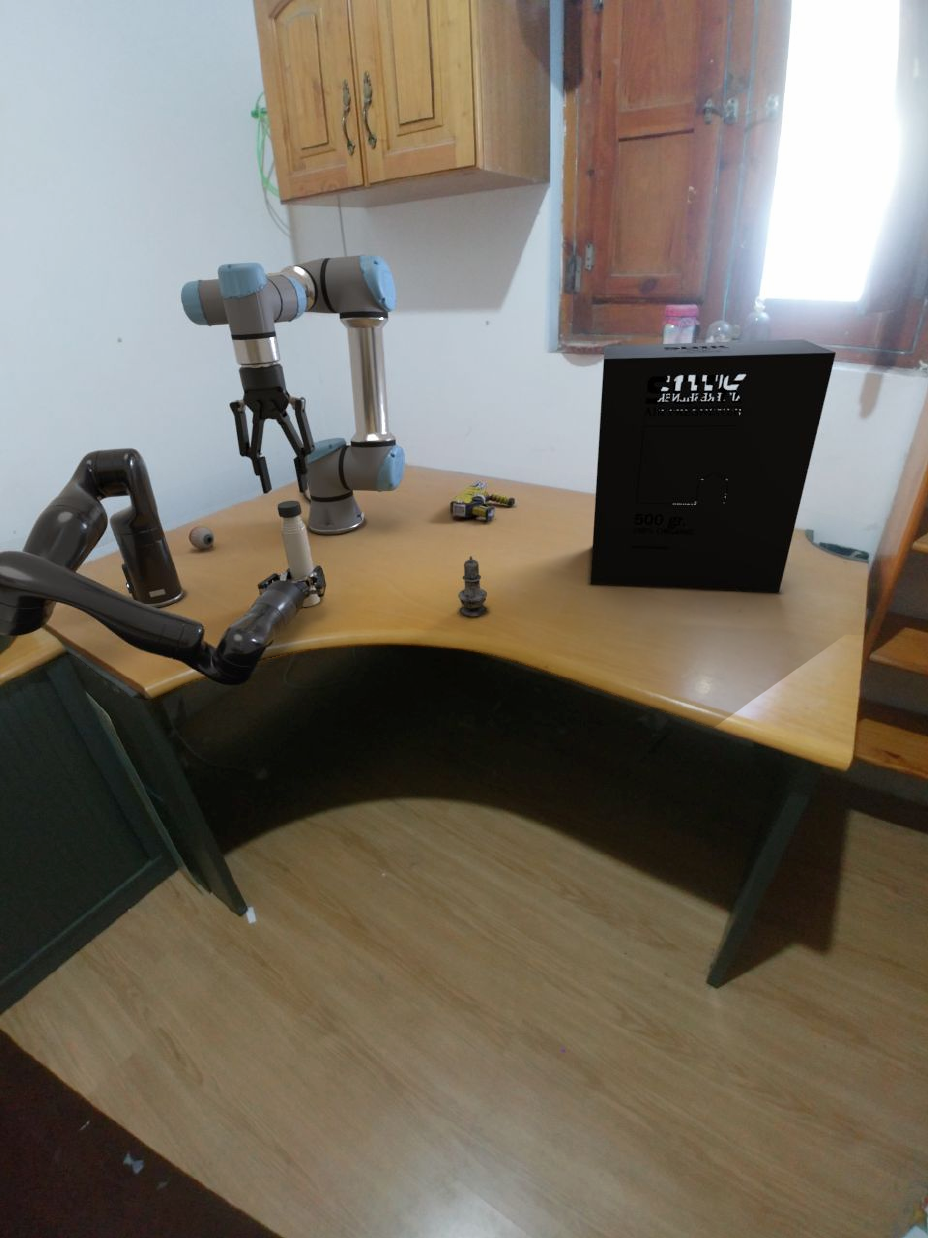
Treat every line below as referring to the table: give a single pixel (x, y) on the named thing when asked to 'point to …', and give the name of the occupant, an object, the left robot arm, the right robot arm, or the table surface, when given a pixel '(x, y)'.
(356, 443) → the right robot arm
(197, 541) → the eyeball
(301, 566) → the bottle
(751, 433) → the cardboard box
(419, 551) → the table surface
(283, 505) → the cap
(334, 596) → the table surface
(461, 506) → the toy gun
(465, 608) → the dark grey tall piece
